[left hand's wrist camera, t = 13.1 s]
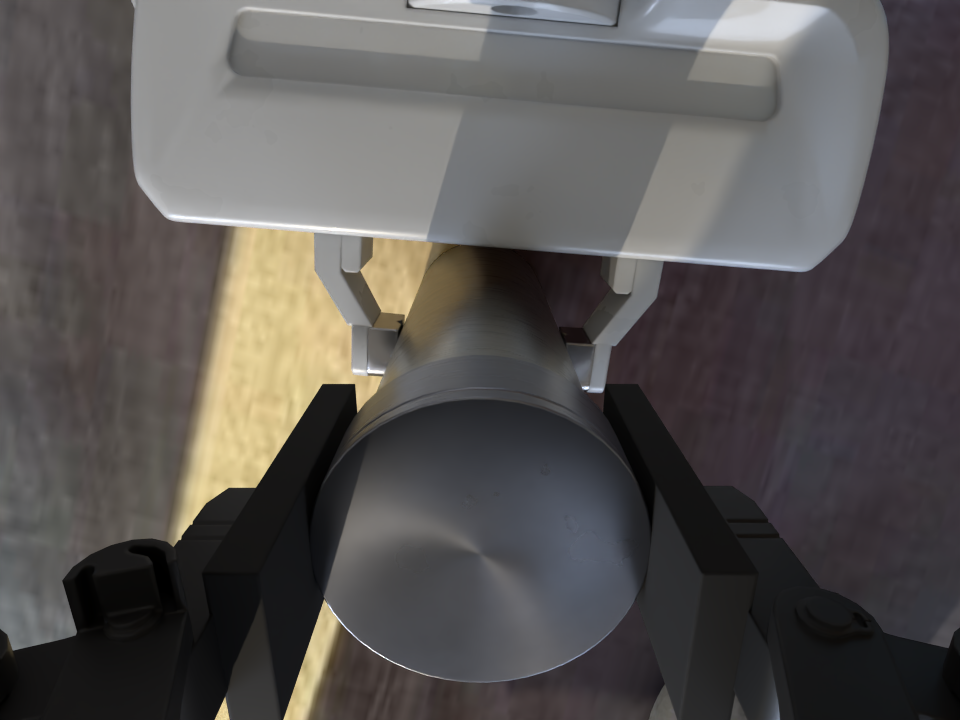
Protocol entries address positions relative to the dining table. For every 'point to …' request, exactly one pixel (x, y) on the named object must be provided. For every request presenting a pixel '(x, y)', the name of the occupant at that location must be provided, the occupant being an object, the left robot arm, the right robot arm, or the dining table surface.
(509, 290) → the bottle
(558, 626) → the lid
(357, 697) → the dining table surface
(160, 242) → the dining table surface
